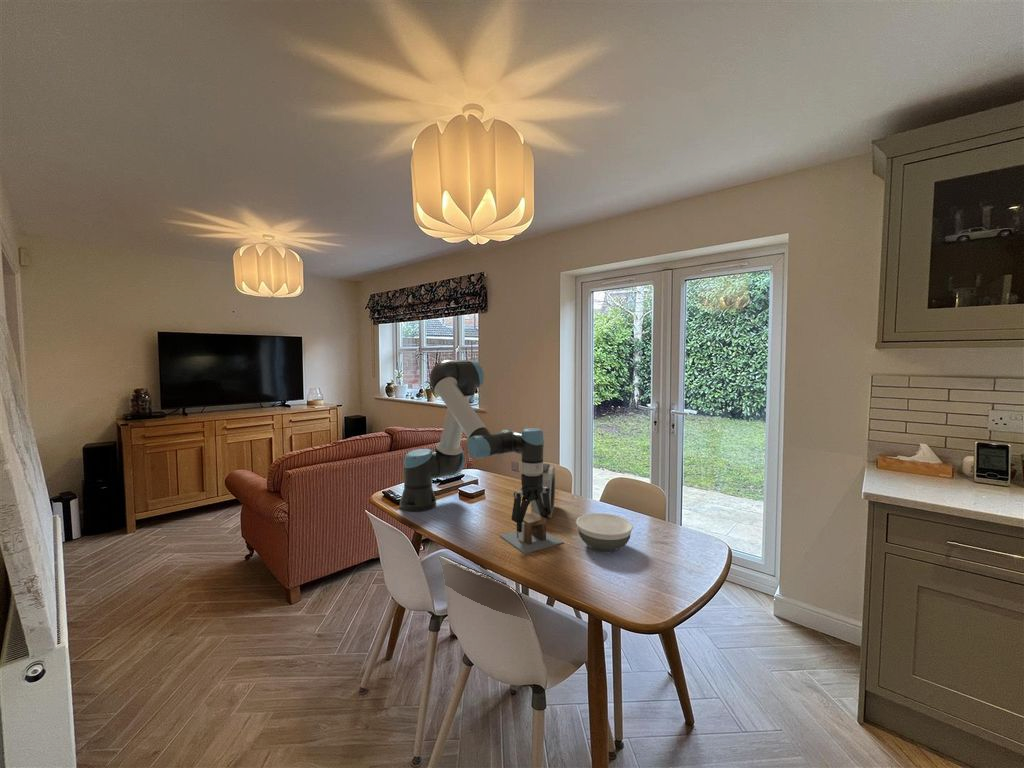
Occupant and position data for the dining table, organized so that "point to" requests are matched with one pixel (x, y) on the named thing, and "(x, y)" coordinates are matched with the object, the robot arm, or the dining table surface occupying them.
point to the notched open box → (534, 527)
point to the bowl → (604, 531)
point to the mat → (536, 542)
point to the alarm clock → (550, 483)
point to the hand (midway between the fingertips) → (531, 537)
